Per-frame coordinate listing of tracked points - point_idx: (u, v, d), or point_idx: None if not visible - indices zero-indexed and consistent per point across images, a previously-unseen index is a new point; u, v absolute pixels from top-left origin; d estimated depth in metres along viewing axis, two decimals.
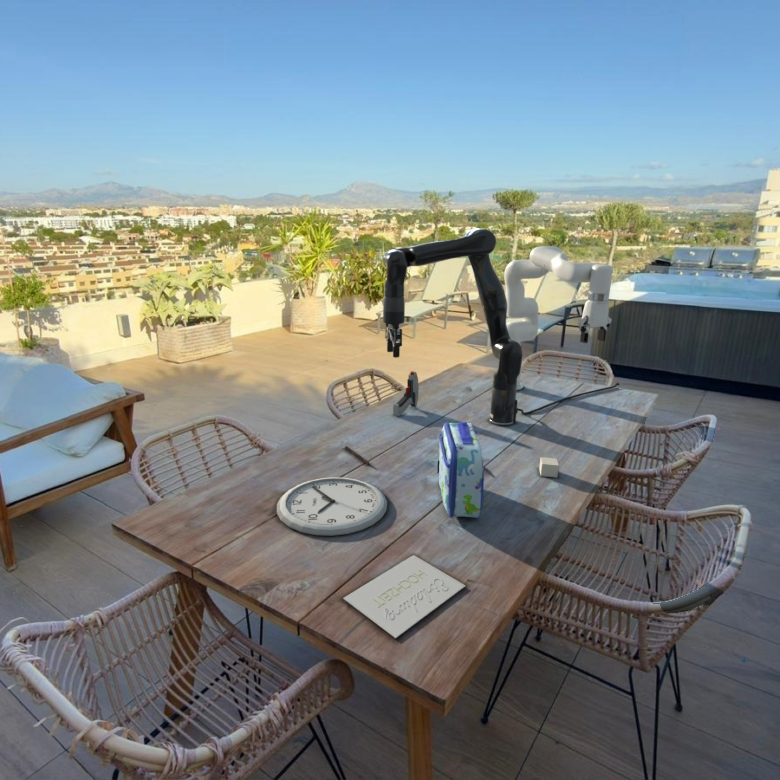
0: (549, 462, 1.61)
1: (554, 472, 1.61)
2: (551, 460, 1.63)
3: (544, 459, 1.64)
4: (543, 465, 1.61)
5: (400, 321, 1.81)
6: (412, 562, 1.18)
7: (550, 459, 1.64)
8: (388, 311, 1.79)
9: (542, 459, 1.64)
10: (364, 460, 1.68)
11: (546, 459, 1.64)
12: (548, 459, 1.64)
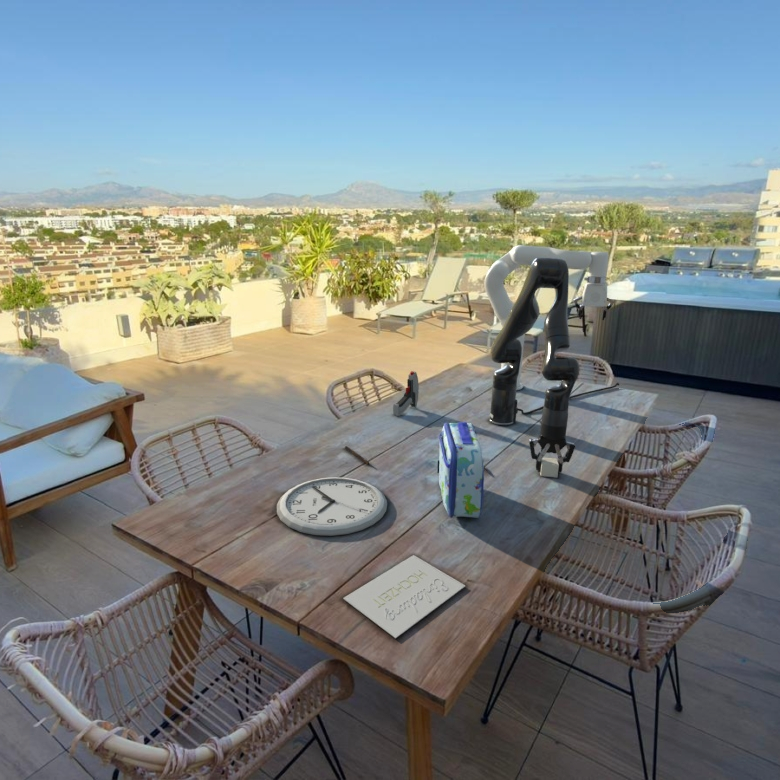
0: (549, 462, 1.61)
1: (554, 472, 1.61)
2: (551, 460, 1.63)
3: (544, 459, 1.64)
4: (543, 465, 1.61)
5: (542, 433, 1.59)
6: (412, 562, 1.18)
7: (550, 459, 1.64)
8: None
9: (542, 459, 1.64)
10: (364, 460, 1.68)
11: (546, 459, 1.64)
12: (548, 459, 1.64)
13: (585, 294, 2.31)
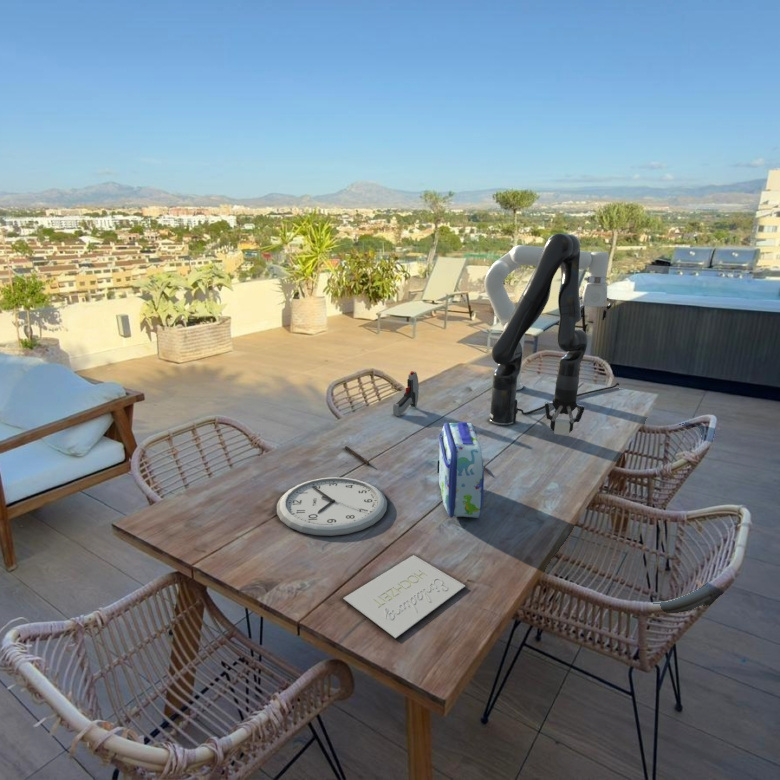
0: (561, 422, 1.87)
1: (566, 430, 1.86)
2: (563, 421, 1.89)
3: (557, 420, 1.90)
4: (556, 424, 1.87)
5: (555, 396, 1.85)
6: (412, 562, 1.18)
7: (563, 420, 1.90)
8: None
9: (556, 420, 1.90)
10: (364, 460, 1.68)
11: (559, 420, 1.90)
12: (561, 420, 1.89)
13: (585, 294, 2.31)
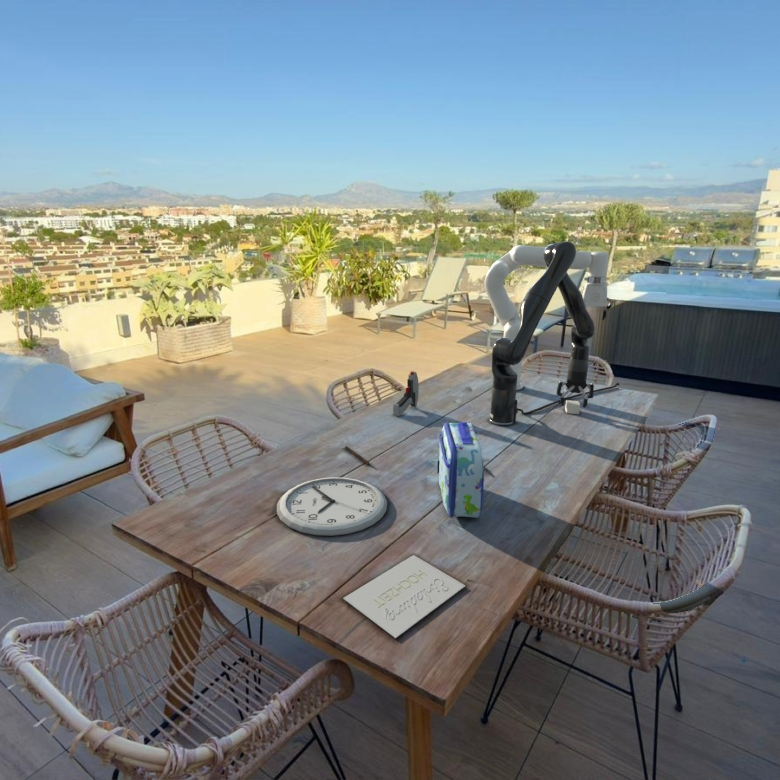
0: (573, 403, 2.17)
1: (576, 410, 2.16)
2: (574, 402, 2.19)
3: (569, 401, 2.19)
4: (568, 405, 2.16)
5: (568, 378, 2.14)
6: (412, 562, 1.18)
7: (573, 401, 2.20)
8: None
9: (567, 401, 2.19)
10: (364, 460, 1.68)
11: (570, 401, 2.20)
12: (572, 401, 2.19)
13: (585, 294, 2.31)
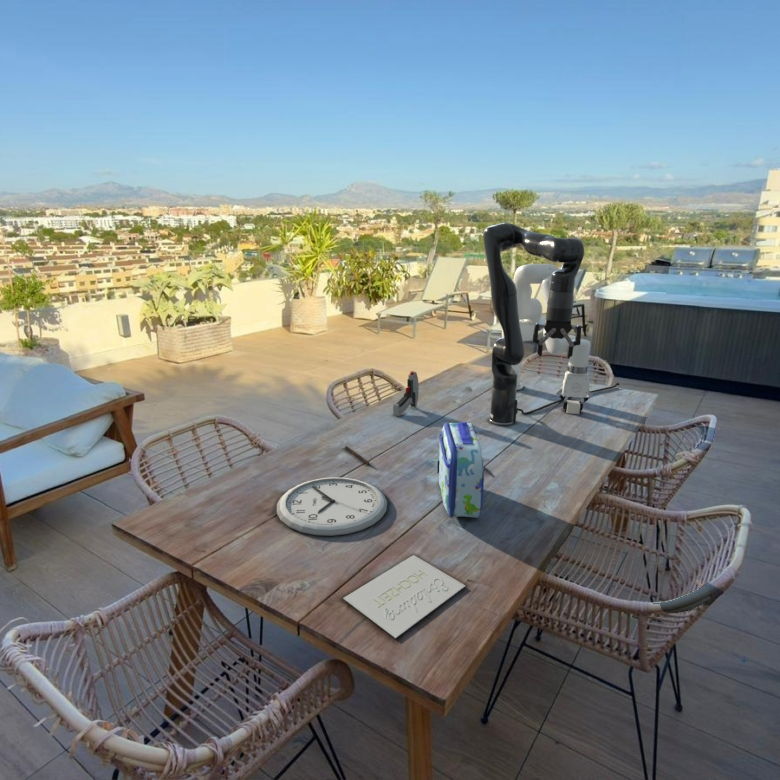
0: (573, 403, 2.17)
1: (576, 410, 2.16)
2: (574, 402, 2.19)
3: (569, 401, 2.19)
4: (568, 405, 2.16)
5: (547, 318, 1.61)
6: (412, 562, 1.18)
7: (573, 401, 2.20)
8: None
9: (567, 401, 2.19)
10: (364, 460, 1.68)
11: (570, 401, 2.20)
12: (572, 401, 2.19)
13: (565, 384, 2.14)
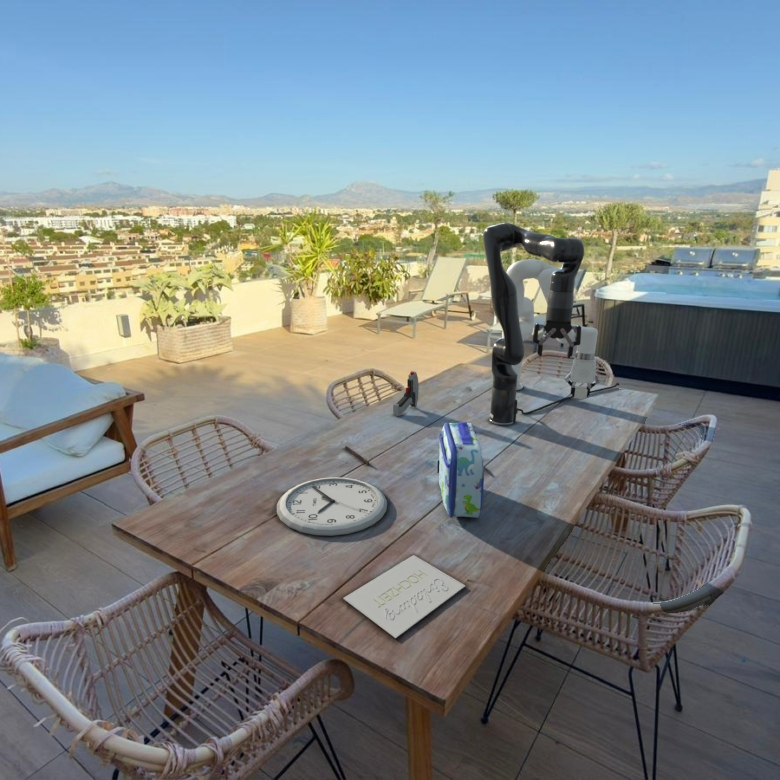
0: (580, 388, 2.28)
1: (584, 395, 2.27)
2: (581, 387, 2.29)
3: (577, 387, 2.30)
4: (576, 390, 2.27)
5: (547, 318, 1.61)
6: (412, 562, 1.18)
7: (581, 387, 2.30)
8: None
9: (575, 387, 2.30)
10: (364, 460, 1.68)
11: (578, 387, 2.30)
12: (579, 387, 2.30)
13: (573, 370, 2.25)
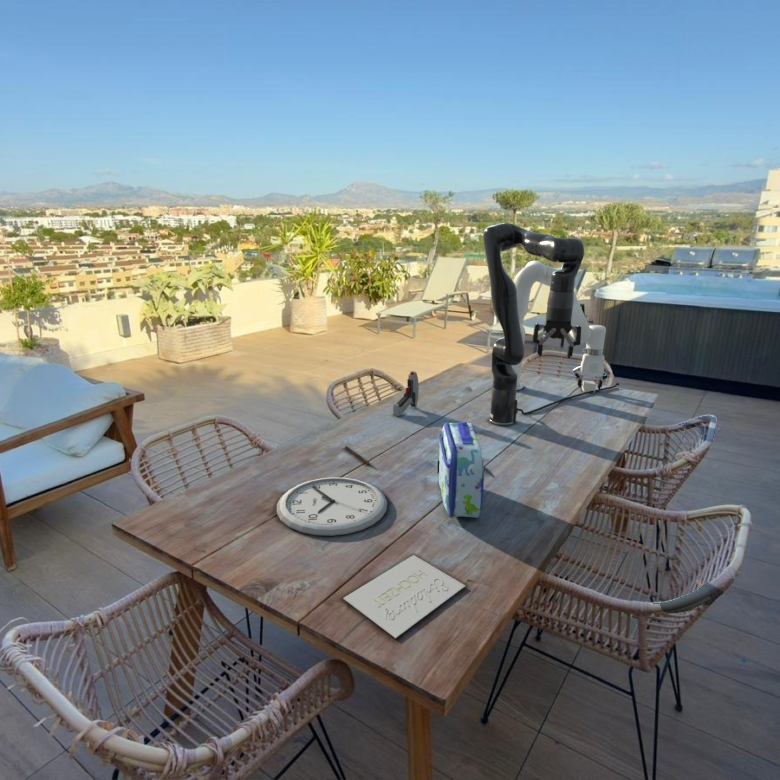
0: (589, 383, 2.46)
1: (592, 389, 2.45)
2: (590, 382, 2.48)
3: (586, 381, 2.48)
4: (585, 384, 2.45)
5: (547, 318, 1.61)
6: (412, 562, 1.18)
7: (590, 381, 2.48)
8: None
9: (584, 381, 2.48)
10: (364, 460, 1.68)
11: (587, 381, 2.48)
12: (588, 381, 2.48)
13: (583, 365, 2.43)
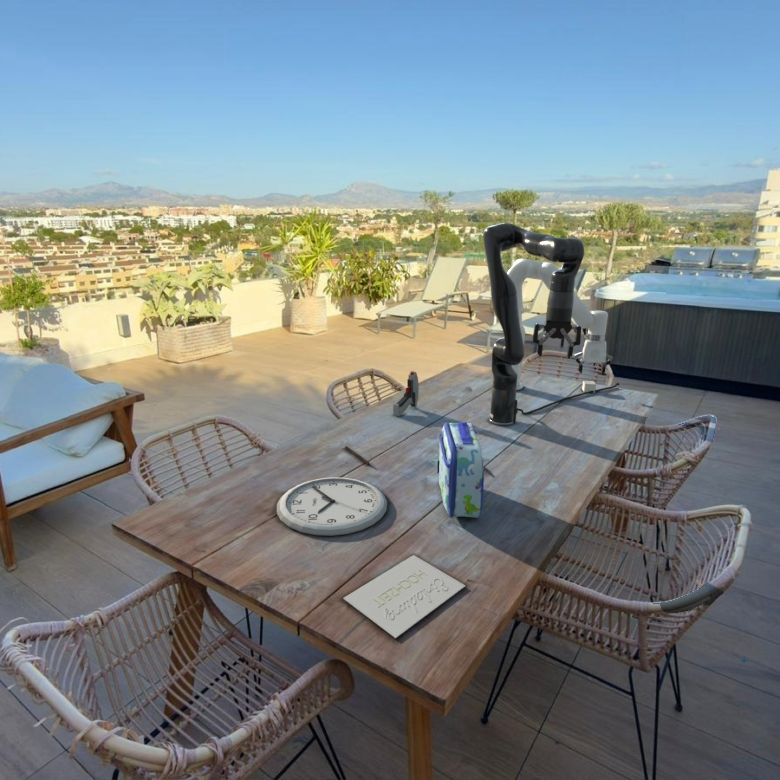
0: (589, 383, 2.46)
1: (592, 389, 2.45)
2: (590, 382, 2.48)
3: (586, 381, 2.48)
4: (585, 384, 2.45)
5: (547, 318, 1.61)
6: (412, 562, 1.18)
7: (590, 381, 2.48)
8: None
9: (584, 381, 2.48)
10: (364, 460, 1.68)
11: (587, 381, 2.48)
12: (588, 381, 2.48)
13: (585, 351, 2.41)
